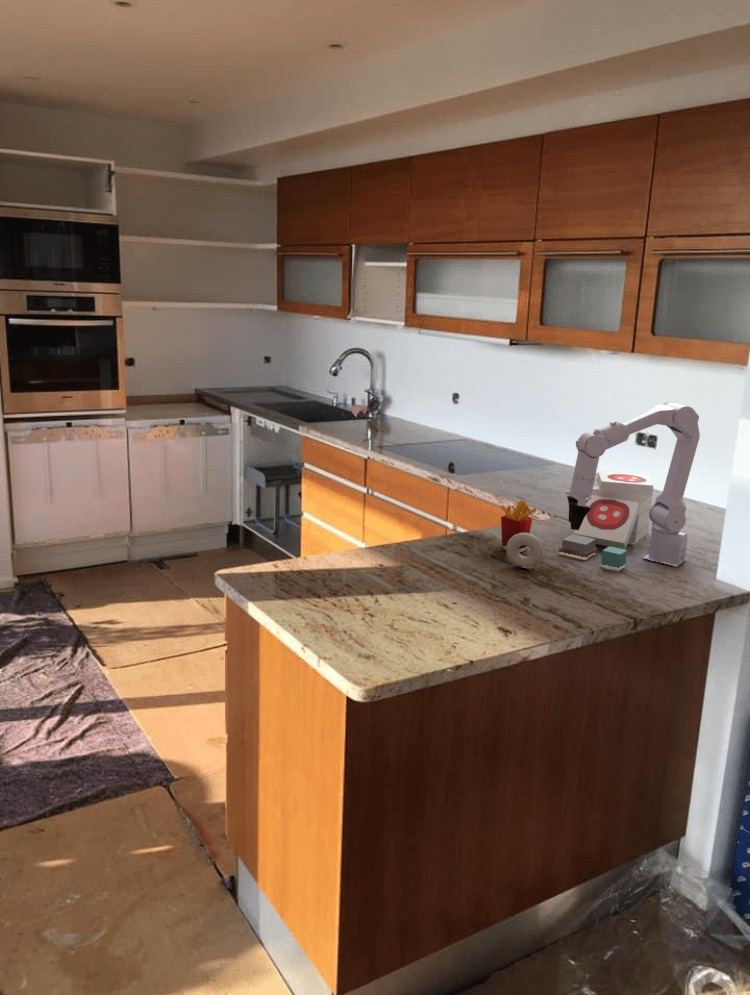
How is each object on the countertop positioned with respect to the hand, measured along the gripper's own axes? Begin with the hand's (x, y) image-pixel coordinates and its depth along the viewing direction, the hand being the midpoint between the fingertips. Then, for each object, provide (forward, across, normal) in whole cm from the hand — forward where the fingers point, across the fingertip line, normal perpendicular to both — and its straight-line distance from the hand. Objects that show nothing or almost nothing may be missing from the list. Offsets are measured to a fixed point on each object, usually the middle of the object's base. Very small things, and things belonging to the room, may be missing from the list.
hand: (573, 526), depth 228 cm
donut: (+12, +9, -12) cm, 19 cm away
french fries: (+12, -7, -13) cm, 19 cm away
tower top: (+8, -8, +4) cm, 12 cm away
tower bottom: (+10, -8, +4) cm, 14 cm away
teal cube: (+9, +1, +12) cm, 16 cm away
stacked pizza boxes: (+8, -27, +16) cm, 32 cm away
